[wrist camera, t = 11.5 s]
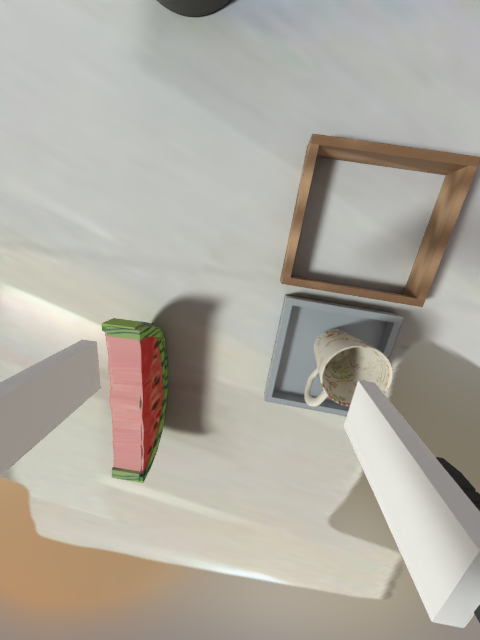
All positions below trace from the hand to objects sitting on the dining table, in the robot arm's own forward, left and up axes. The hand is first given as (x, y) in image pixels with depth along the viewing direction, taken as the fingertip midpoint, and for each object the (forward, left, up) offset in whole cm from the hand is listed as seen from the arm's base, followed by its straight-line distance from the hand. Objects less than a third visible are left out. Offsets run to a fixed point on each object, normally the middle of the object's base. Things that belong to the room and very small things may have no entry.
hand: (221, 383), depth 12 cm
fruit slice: (+18, -15, -27) cm, 36 cm away
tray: (+8, +14, -27) cm, 31 cm away
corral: (-12, +14, -27) cm, 32 cm away
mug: (+8, +14, -26) cm, 31 cm away
